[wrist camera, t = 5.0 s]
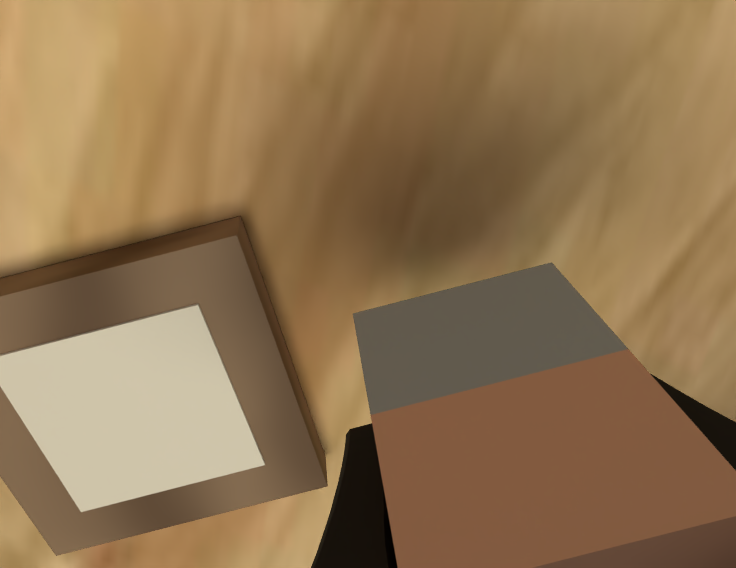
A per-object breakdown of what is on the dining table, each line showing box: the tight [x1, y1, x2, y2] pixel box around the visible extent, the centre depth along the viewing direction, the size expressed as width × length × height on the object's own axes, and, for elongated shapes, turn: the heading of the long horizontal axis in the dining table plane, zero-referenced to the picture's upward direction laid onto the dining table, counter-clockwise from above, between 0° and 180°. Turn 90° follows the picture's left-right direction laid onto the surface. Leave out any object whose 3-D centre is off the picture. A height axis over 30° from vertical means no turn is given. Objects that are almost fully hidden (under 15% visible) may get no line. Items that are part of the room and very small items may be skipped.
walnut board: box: [0, 216, 328, 556], centre depth 20 cm, size 10×10×2 cm
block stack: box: [353, 263, 736, 568], centre depth 12 cm, size 4×4×7 cm
